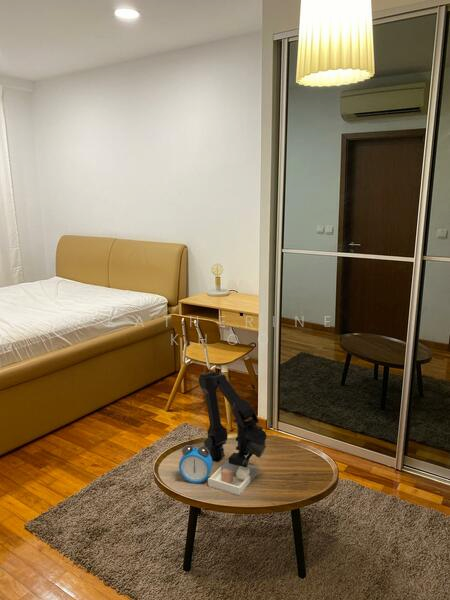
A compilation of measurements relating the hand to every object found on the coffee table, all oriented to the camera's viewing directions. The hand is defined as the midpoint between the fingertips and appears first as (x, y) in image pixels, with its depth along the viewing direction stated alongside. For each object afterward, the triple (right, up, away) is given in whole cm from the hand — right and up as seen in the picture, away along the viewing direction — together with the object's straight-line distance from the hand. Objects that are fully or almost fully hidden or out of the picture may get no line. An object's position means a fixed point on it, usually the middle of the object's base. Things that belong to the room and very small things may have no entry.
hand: (245, 469), depth 190 cm
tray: (-7, -5, -3) cm, 9 cm away
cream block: (-1, -2, -2) cm, 3 cm away
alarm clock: (-20, -5, 0) cm, 21 cm away
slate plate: (-2, -3, +4) cm, 6 cm away
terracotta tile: (-7, -2, -1) cm, 7 cm away
